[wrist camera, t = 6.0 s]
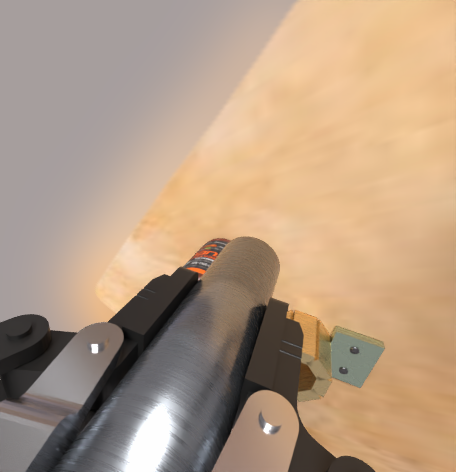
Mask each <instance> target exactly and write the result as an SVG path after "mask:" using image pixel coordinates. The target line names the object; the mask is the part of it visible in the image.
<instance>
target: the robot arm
mask: <svg viewBox="0 0 456 472" xmlns="http://www.w3.org/2000/svg"><path fill="white" fill-rule="evenodd" d="M198 277H199V274H198V272H196V271H193V270H190V269H187V268H184V267H179V268H178V269H177V270H176V271H175V272H174V273H173V274H172V275H171V276H168V275H165V274H164V275H161V276H159V277H157V278H155V279H153V280H151V281H150V282H149V283H148V284H147V285H146V286H145V287H144V289H142V290H141V291H140V292H139V293H138V294H137V296H135V297H134V298H132V299H131V300H130V301H129V302H128V303H127V304H126V305H125V306H124V307H123V308H122V309H121V310H120V311H119V312H118V313H117V314H116V315H115V316H114V317H112V318H111V319H110V320H109V321H108V322H101V323H95V324H92V325H89V326H87V327H85V328H83V329H82V330H80V331H79V332H78V333H74V332H63V331H53V330H50V328H49V323H48V321H47V320H46V318H44V317H42V316H40V315H34V314H30V315H21V316H17V317H14V318H11V319H9V320H6V321H4V322H1V323H0V379H1V380H0V472H52V471H53V469H54V468H55V466H56V465H57V464H58V462H59V461H60V460H61V458H62V457H63V456H64V454H65V453H66V452H67V450H68V449H69V448H70V446H71V445H72V444H73V442H74V441H75V440H76V438H77V437H78V436H79V434H80V433H81V432H82V430H83V429H84V428H85V427H86V425H87V424H88V423H89V421H90V420H91V419H92V418H93V416H94V415H95V414H96V412H97V411H98V410H99V408H100V407H101V406H102V405H103V403H104V402H105V401H106V399H107V398H108V397H109V396H110V394H111V393H112V392H113V390H114V389H115V388H116V387H117V385H118V384H119V383H120V381H121V380H122V379H123V377H124V376H125V375H126V374H127V372H128V371H129V370H130V368H131V367H132V366H133V365H134V363H135V362H136V361H137V359H138V358H139V357H140V356H141V354H142V353H143V352H144V350H145V349H146V348H147V346H148V345H149V344H150V343H151V341H152V340H153V339H154V337H155V336H156V335H157V334H158V332H159V331H160V330H161V328H162V327H163V326H164V325H165V323H166V322H167V321H168V319H169V318H170V317H171V315H172V314H173V313H174V312H175V310H176V309H177V308H178V306H179V305H180V304H181V303H182V301H183V300H184V299H185V297H186V296H187V295H188V294H189V292H190V291H191V290H192V288H193V287H194V286H195V284H196V283H197V282H198ZM288 306H289V304H288V303H285V302H282V301H279V300H276V299H273V298H271V297H270V299H269V302H268V306H267V309H266V312H265V315H264V318H263V322H262V325H261V328H260V331H259V334H258V338H257V341H256V344H255V347H254V350H253V354H252V357H251V360H250V363H249V366H248V370H247V373H246V376H245V379H244V383H243V386H242V389H241V393H240V403H239V407H238V410H237V414H236V417H235V420H234V424H233V427H232V428H233V430H232V432H231V434H230V436H229V438H228V440H227V442H226V444H225V446H224V448H223V450H222V452H221V454H220V456H219V458H218V460H217V462H216V464H215V466H214V468H213V470H212V472H375V471H374V470H373V469H372V468H371V467H370V466H369V465H368V464H366V463H365V462H363V461H362V460H359V459H357V458H355V457H351V456H341V457H339V458H336V457H334V456H333V455H332V454H331V453H330V452H328V451H327V450H326V449H325V448H324V447H322V446H321V445H320V444H319V443H318V442H317V441H316V440H314V439H313V438H312V437H311V435H310V434H309V433H308V432H307V430H306V429H305V427H304V426H303V424H302V422H301V420H300V417H299V414H298V411H297V396H298V386H299V377H300V367H301V358H302V348H303V339H304V334H303V331H302V328H301V326H300V323H299V322H297V321H294V320H291V319H288V318H286V316H287V311H288Z"/></svg>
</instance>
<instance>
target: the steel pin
mask: <svg viewBox="0 0 456 472" xmlns="http://www.w3.org/2000/svg"><path fill="white" fill-rule="evenodd" d="M279 271H280V264H279V260H278V257H277V255H276V253H275V252H274V250H273V249H272V248H271V247H270V246H269V245H268V244H266V243H265V242H263V241H261V240H259V239H257V238H253V237H239V238H236V239H233V240H232V241H230V242H229V243H228V244H227V245H226V246H225V247H224V248H223V250H222V251H221V252H220V253H219V255H218V256H217V257H216V259H215V260H214V261H213V263H212V264H211V265H210V266H209V268H208V269H207V270H206V272H205V273H204V274H203V275H202V277H201V278H200V279H199V281H198V282H197V283H196V284H195V286H194V287H193V288H192V290H191V291H190V292H189V294H188V295H187V296H186V297H185V299H184V300H183V301H182V303H181V304H180V305H179V306H178V308H177V309H176V310H175V312H174V313H173V314H172V315H171V317H170V318H169V319H168V321H167V322H166V323H165V325H164V326H163V327H162V328H161V330H160V331H159V332H158V334H157V335H156V336H155V337H154V339H153V340H152V341H151V343H150V344H149V345H148V346H147V348H146V349H145V350H144V352H143V353H142V354H141V356H140V357H139V358H138V359H137V361H136V362H135V363H134V365H133V366H132V367H131V368H130V370H129V371H128V372H127V374H126V375H125V376H124V377H123V379H122V380H121V381H120V383H119V384H118V385H117V387H116V388H115V389H114V390H113V392H112V393H111V394H110V396H109V397H108V398H107V399H106V401H105V402H104V403H103V405H102V406H101V407H100V408H99V410H98V411H97V412H96V414H95V415H94V416H93V418H92V419H91V420H90V421H89V423H88V424H87V425H86V427H85V428H84V429H83V430H82V432H81V433H80V434H79V436H78V437H77V438H76V440H75V441H74V442H73V444H72V445H71V446H70V448H69V449H68V450H67V452H66V453H65V454H64V456H63V457H62V458H61V460H60V461H59V462H58V464H57V465H56V466H55V468H54V469H53V471H52V472H212V470H213V468H214V466H215V464H216V462H217V460H218V458H219V456H220V454H221V452H222V450H223V448H224V446H225V444H226V442H227V440H228V438H229V436H230V433H231V430H232V427H233V424H234V420H235V417H236V414H237V410H238V407H239V403H240V393H241V389H242V386H243V383H244V379H245V376H246V373H247V370H248V366H249V363H250V360H251V357H252V354H253V350H254V347H255V344H256V341H257V338H258V334H259V331H260V328H261V325H262V322H263V318H264V315H265V312H266V309H267V306H268V302H269V299H270V297H271V298H272V295H273V292H274V288H275V285H276V282H277V279H278V275H279Z"/></svg>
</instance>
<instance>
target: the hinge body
mask: <svg viewBox="0 0 456 472" xmlns="http://www.w3.org/2000/svg"><path fill="white" fill-rule="evenodd" d="M286 318H288V319H291V320H294V321H297V322H299V323H300V326H301V328H302V331H303V334H304V339H303V348H302V358H301V367H300V377H299V386H298V396H297V400H298V401H299V402H302V401H309V400H316V399H321V396H322V397H324V395H325V393H326V392H327V390H328V388H329V386H330V384H331V382H332V377H333V378H336V379H339V380H341V381H344V382H346V383H349V384H351V385H354V386H357V387H359V388H361V386H362V385H363V383H364V381H365V380H366V378H367V377H368V375H369V373H370V372H371V370H372V368H373V367H374V365H375V364H376V362H377V360H378V359H379V357H380V356H381V354H382V352H383V351H384V349H385V347H384V343H383V342H382V341H379V340H376V339H373V338H370V337H367V336H365V335H362V334H359V333H356V332H353V331H350V330H347V329H344V328H341V327H339V326H336V327H335V329H334V331H333V333H332V336H330V335H329V333H328V332H327V330H326V329H325V327H324V325H323V324H322V322H321V321H320V320H318V321H317V317H314V316H311V315H308V314H305V313H302V312H299V311H296V310H295V313H293V311H292V310H290V311H287V316H286Z"/></svg>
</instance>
